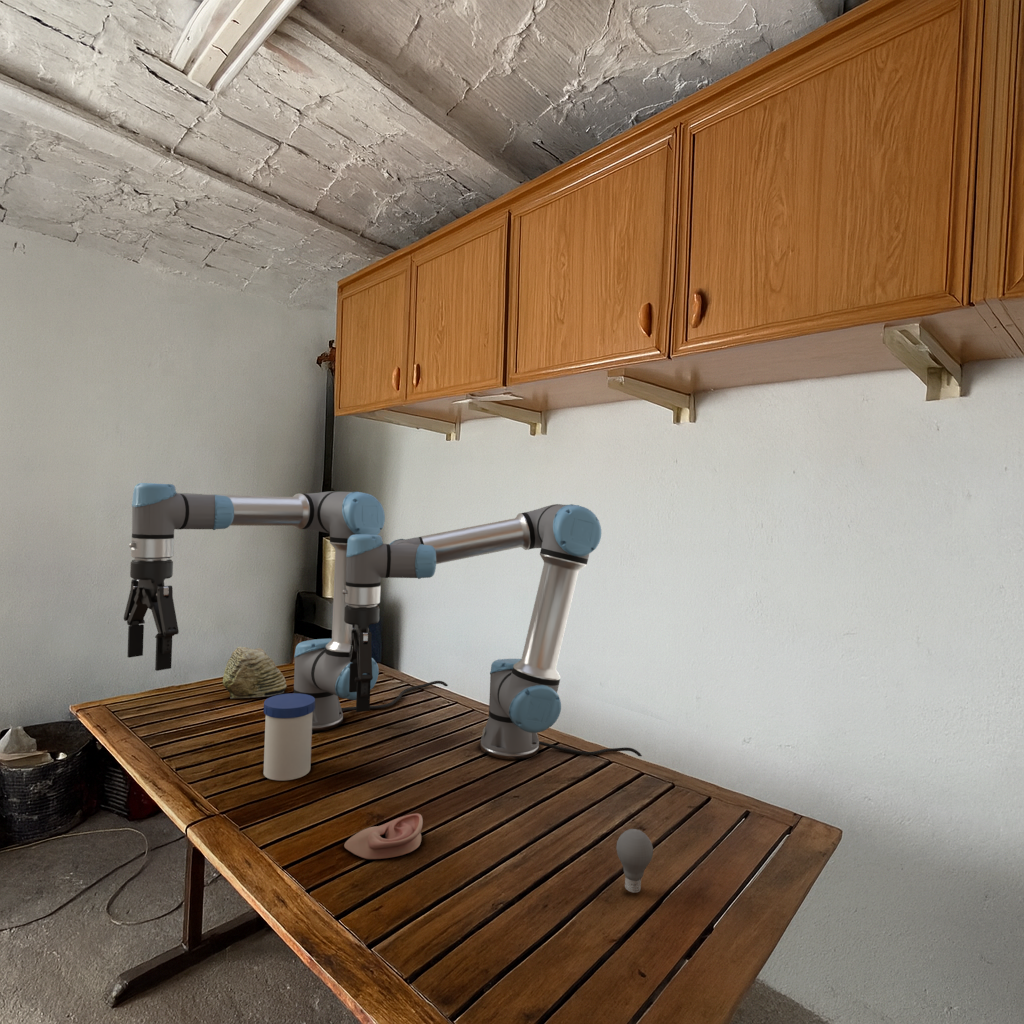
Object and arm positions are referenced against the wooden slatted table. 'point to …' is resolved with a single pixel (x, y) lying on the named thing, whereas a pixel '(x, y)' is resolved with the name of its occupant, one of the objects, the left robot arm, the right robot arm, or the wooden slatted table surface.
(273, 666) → the fossil
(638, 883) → the light bulb
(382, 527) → the left robot arm
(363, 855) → the anatomical model
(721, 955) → the wooden slatted table surface
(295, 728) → the jar
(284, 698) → the lid
